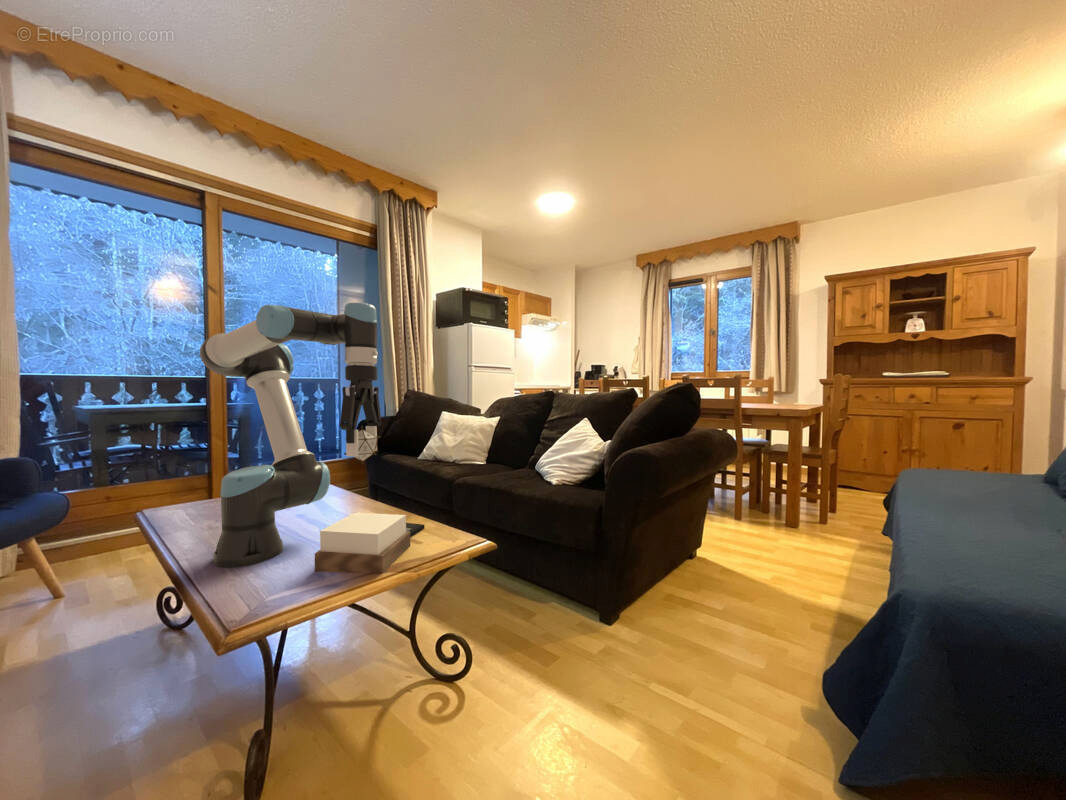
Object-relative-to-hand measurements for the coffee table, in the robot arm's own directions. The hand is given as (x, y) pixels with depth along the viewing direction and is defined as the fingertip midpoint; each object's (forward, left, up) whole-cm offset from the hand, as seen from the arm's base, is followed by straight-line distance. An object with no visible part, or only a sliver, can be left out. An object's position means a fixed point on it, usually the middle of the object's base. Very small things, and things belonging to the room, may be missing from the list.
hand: (362, 453), depth 106 cm
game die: (0, 0, -3) cm, 3 cm away
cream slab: (0, +1, -23) cm, 23 cm away
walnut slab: (0, +1, -28) cm, 28 cm away
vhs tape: (+3, +17, -28) cm, 33 cm away
